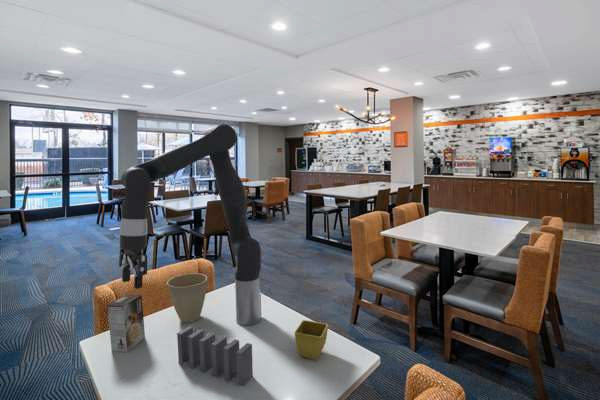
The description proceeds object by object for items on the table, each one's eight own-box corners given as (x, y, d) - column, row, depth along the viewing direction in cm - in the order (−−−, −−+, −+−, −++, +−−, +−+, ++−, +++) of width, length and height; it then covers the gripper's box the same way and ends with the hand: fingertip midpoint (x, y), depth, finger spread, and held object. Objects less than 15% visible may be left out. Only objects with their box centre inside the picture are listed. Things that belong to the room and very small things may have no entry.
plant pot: (193, 306, 143) (191, 270, 141) (216, 316, 134) (215, 277, 132) (161, 320, 131) (159, 281, 129) (184, 331, 122) (182, 290, 120)
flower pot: (328, 349, 110) (328, 323, 109) (321, 365, 102) (321, 337, 101) (303, 344, 113) (303, 319, 112) (294, 359, 105) (294, 332, 103)
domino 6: (248, 375, 97) (247, 342, 96) (252, 376, 97) (251, 344, 95) (237, 385, 93) (236, 351, 92) (242, 387, 92) (241, 353, 91)
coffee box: (129, 336, 120) (126, 293, 118) (145, 337, 118) (142, 294, 116) (110, 350, 111) (106, 304, 109) (127, 352, 109) (123, 305, 107)
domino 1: (190, 355, 107) (189, 325, 106) (194, 356, 107) (193, 327, 106) (178, 363, 103) (177, 333, 102) (182, 365, 102) (180, 334, 101)
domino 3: (212, 362, 103) (211, 332, 102) (216, 364, 103) (215, 333, 101) (200, 371, 99) (199, 340, 98) (205, 373, 98) (203, 341, 97)
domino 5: (235, 370, 99) (234, 339, 98) (240, 372, 99) (239, 340, 97) (224, 380, 95) (223, 347, 94) (229, 382, 94) (228, 349, 93)
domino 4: (223, 366, 101) (222, 335, 100) (228, 368, 101) (226, 336, 99) (212, 376, 97) (211, 343, 96) (216, 377, 96) (215, 345, 95)
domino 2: (201, 358, 105) (200, 329, 104) (205, 360, 105) (203, 330, 103) (189, 367, 101) (187, 336, 100) (193, 369, 100) (191, 337, 99)
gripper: (156, 235, 101) (154, 288, 102) (136, 228, 110) (134, 277, 111) (131, 237, 95) (129, 293, 96) (111, 230, 104) (109, 281, 105)
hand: (131, 284), depth 104 cm, fingers open, 8 cm apart
